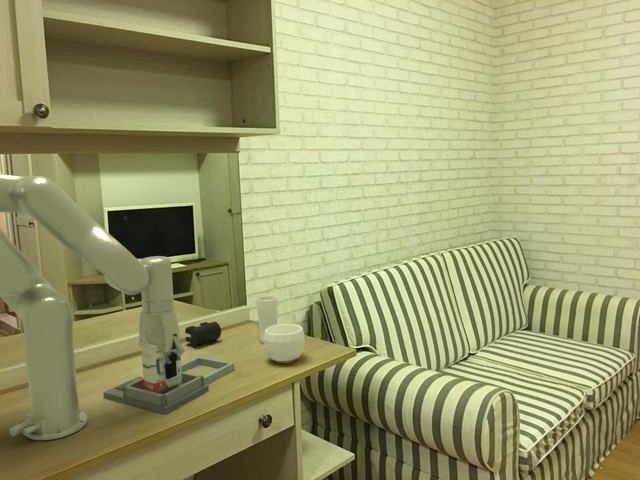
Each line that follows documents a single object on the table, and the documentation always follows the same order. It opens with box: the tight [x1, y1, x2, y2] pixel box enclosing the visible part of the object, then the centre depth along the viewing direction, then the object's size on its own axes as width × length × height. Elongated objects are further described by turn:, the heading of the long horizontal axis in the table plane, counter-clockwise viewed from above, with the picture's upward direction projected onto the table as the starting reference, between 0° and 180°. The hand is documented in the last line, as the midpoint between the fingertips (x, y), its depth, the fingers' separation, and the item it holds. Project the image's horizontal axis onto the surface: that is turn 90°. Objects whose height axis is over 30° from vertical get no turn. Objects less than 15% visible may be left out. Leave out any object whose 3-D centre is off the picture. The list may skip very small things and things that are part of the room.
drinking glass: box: [256, 295, 278, 344], centre depth 173 cm, size 7×7×15 cm
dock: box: [102, 371, 210, 415], centre depth 133 cm, size 15×22×4 cm
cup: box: [263, 323, 306, 364], centre depth 155 cm, size 12×12×10 cm
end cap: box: [184, 321, 222, 349], centre depth 173 cm, size 10×7×7 cm
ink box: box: [141, 343, 182, 393], centre depth 131 cm, size 9×5×12 cm, turn 144°
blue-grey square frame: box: [181, 356, 235, 385], centre depth 146 cm, size 14×14×2 cm
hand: (162, 374), depth 131 cm, fingers closed on ink box, 5 cm apart
